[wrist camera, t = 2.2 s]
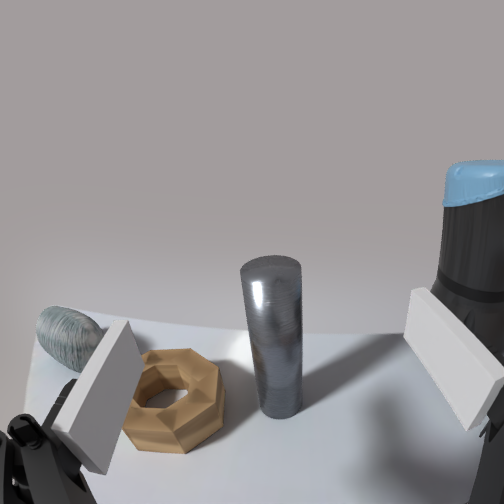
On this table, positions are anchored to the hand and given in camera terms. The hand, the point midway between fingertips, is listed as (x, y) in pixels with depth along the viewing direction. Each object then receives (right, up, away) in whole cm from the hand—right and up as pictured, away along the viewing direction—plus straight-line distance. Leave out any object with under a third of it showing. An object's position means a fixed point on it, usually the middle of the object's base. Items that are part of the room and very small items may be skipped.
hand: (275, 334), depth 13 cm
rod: (+2, -12, +15) cm, 20 cm away
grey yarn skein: (-27, -13, +24) cm, 39 cm away
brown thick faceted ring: (-10, -14, +16) cm, 23 cm away
